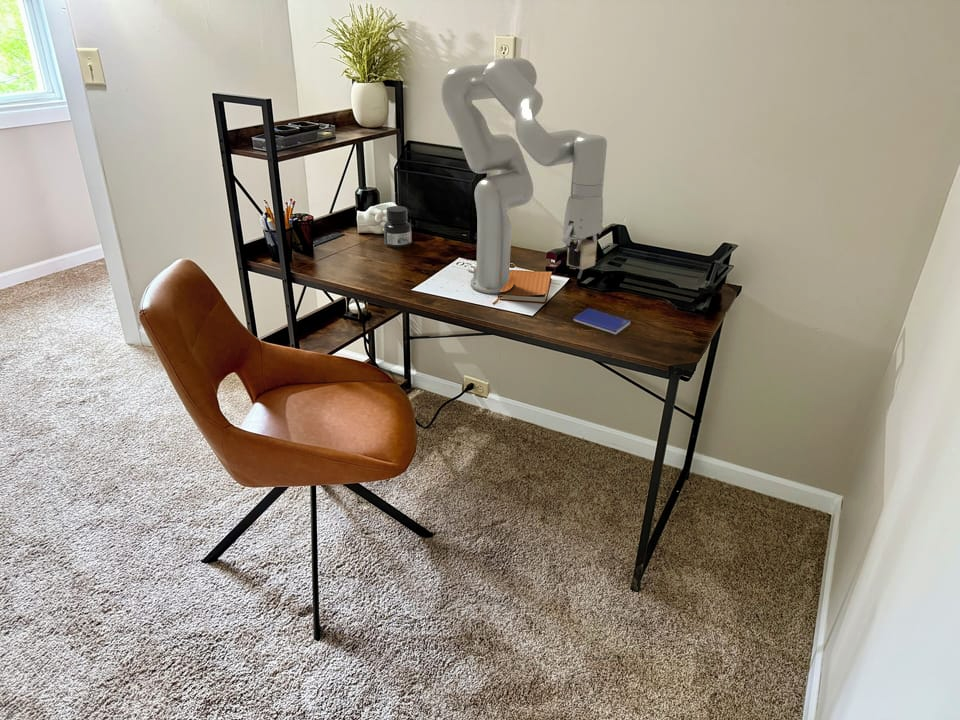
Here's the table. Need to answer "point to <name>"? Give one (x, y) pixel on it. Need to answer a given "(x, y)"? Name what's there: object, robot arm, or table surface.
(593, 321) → the hard drive
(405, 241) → the ink bottle
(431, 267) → the table surface
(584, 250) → the beech block
